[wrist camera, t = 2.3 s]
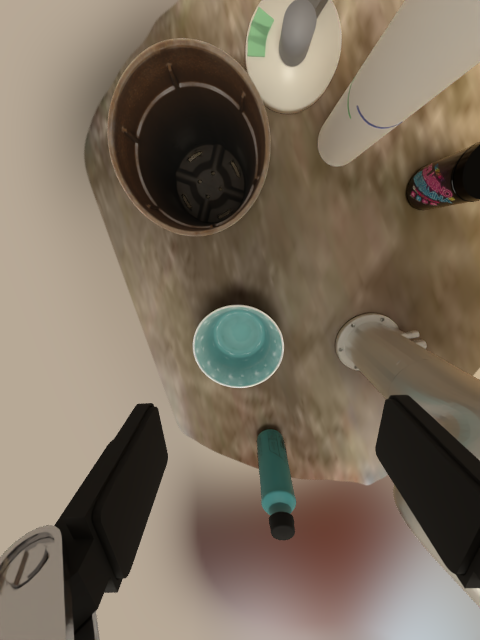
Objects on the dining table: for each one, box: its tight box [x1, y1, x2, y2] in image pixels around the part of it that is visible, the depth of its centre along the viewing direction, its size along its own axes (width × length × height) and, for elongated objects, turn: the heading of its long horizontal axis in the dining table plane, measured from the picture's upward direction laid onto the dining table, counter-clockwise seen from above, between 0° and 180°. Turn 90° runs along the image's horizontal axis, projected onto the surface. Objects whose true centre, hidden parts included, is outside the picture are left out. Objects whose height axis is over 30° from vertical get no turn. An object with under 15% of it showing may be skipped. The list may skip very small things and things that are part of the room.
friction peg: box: [279, 0, 328, 66], centre depth 27 cm, size 10×4×4 cm, turn 143°
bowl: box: [193, 305, 284, 388], centre depth 42 cm, size 16×16×8 cm
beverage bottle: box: [257, 429, 296, 540], centre depth 45 cm, size 6×7×20 cm
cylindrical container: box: [318, 0, 480, 167], centre depth 23 cm, size 7×7×25 cm
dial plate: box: [246, 0, 342, 114], centre depth 31 cm, size 13×13×2 cm
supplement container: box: [407, 142, 480, 210], centre depth 32 cm, size 7×7×10 cm
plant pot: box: [107, 38, 271, 236], centre depth 30 cm, size 16×16×16 cm
